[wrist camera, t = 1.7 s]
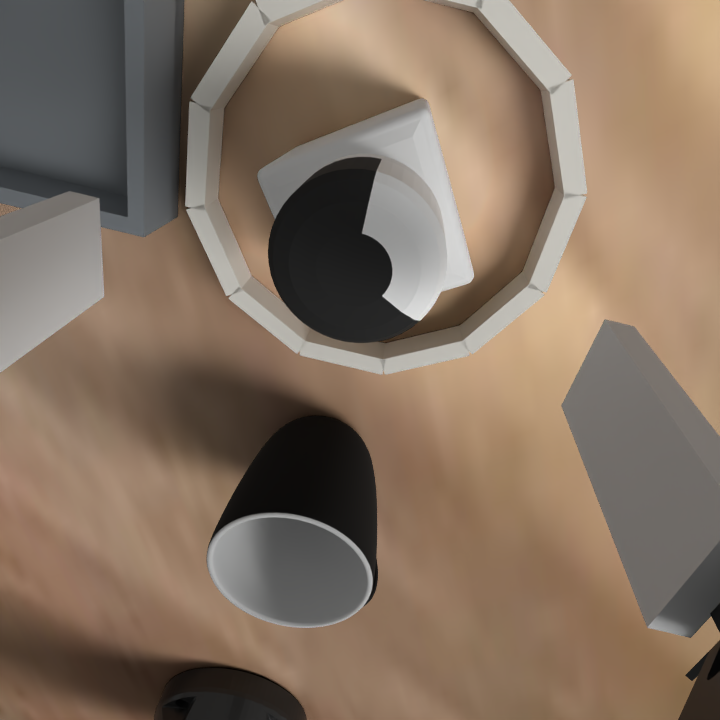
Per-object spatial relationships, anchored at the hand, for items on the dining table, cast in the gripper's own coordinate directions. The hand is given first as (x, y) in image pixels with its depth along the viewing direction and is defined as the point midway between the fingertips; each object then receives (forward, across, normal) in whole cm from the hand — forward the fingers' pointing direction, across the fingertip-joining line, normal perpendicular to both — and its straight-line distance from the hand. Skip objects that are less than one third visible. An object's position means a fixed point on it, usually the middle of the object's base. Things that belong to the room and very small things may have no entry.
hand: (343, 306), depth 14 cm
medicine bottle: (+16, 0, 0) cm, 16 cm away
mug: (+16, -1, +20) cm, 25 cm away
